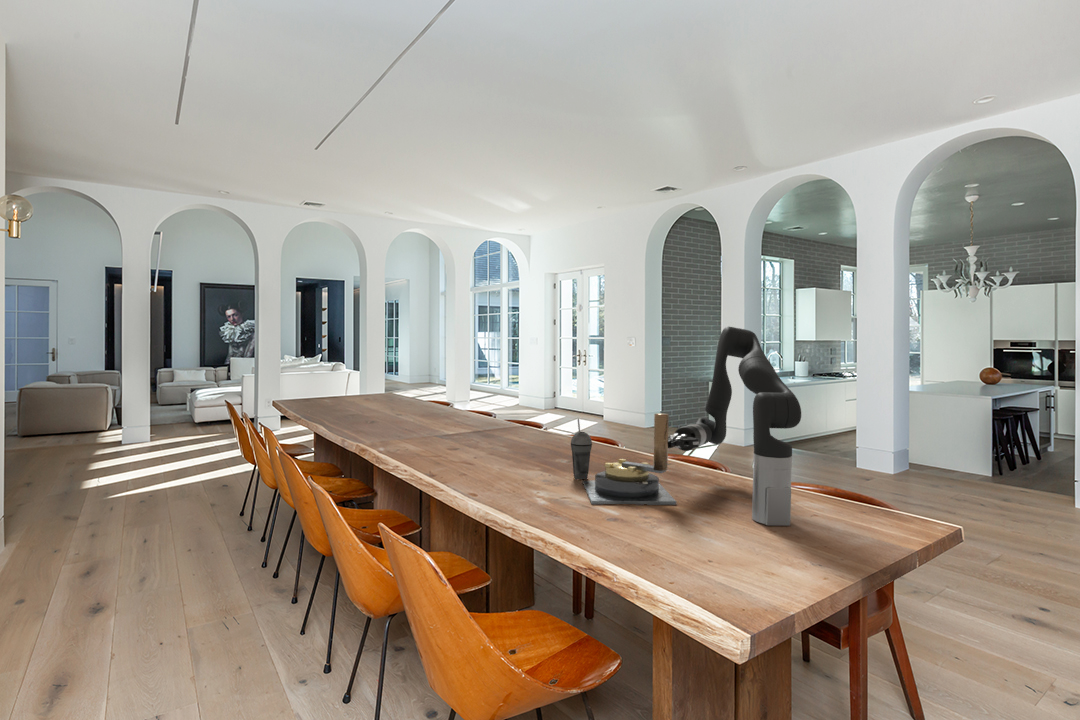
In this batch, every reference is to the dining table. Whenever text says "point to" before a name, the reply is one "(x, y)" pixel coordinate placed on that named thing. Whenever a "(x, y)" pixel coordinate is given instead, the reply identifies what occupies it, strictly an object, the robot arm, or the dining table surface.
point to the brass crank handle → (641, 471)
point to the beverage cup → (581, 454)
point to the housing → (627, 491)
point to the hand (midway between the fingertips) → (666, 444)
